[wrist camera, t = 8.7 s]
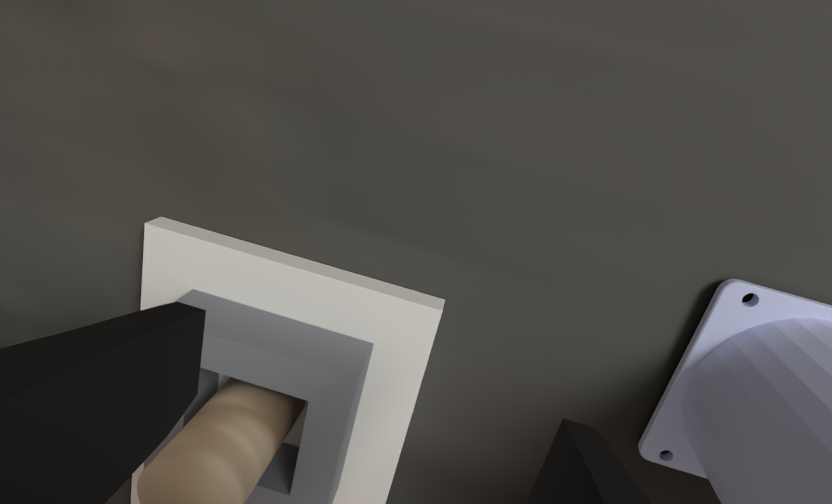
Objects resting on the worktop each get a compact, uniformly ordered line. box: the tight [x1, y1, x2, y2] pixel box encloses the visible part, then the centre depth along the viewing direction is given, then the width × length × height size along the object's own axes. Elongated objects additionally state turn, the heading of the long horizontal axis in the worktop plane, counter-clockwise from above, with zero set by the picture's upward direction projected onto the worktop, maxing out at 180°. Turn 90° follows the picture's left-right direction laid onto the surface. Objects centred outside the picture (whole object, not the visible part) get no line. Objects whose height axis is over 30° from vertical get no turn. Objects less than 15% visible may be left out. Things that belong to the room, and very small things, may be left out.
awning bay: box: [131, 217, 445, 504], centre depth 20 cm, size 12×16×7 cm
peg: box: [137, 377, 306, 504], centre depth 18 cm, size 3×3×6 cm
